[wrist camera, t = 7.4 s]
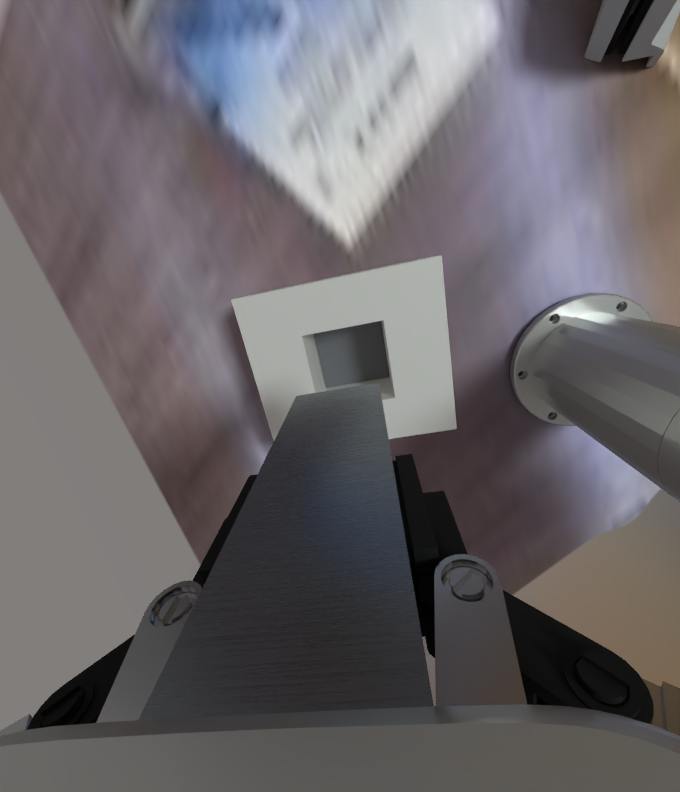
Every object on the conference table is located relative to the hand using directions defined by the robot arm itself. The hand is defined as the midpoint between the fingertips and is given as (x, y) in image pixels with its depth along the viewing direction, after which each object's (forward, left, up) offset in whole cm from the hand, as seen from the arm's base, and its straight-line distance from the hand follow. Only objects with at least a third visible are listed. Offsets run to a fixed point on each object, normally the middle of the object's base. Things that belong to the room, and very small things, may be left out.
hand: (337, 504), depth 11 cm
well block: (0, 0, -23) cm, 23 cm away
